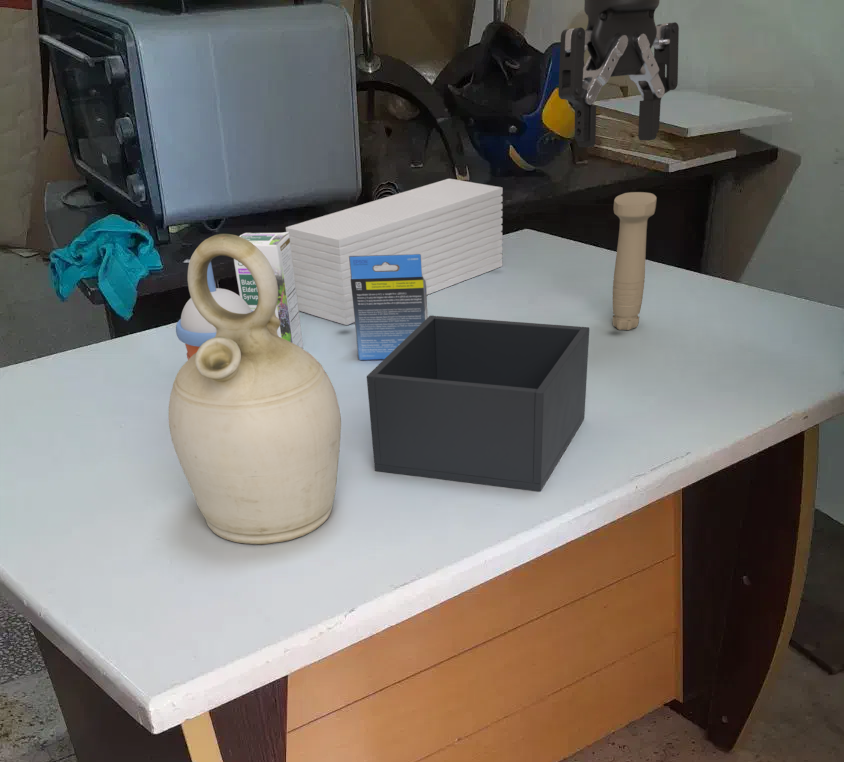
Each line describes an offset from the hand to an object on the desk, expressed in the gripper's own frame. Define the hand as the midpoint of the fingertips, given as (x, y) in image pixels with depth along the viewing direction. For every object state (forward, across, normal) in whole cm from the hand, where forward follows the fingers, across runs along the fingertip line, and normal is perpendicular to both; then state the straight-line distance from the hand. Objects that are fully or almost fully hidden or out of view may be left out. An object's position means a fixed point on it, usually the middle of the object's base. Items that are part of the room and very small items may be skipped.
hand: (617, 143), depth 110 cm
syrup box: (+21, -31, +28) cm, 47 cm away
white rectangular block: (+18, -4, +42) cm, 46 cm away
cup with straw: (+24, -43, +15) cm, 51 cm away
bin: (+26, -25, -9) cm, 36 cm away
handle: (+22, +10, +9) cm, 25 cm away
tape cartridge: (+22, -19, +20) cm, 35 cm away
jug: (+27, -50, -9) cm, 57 cm away
